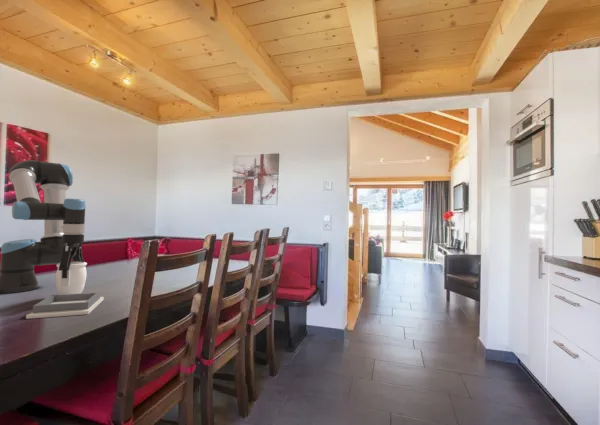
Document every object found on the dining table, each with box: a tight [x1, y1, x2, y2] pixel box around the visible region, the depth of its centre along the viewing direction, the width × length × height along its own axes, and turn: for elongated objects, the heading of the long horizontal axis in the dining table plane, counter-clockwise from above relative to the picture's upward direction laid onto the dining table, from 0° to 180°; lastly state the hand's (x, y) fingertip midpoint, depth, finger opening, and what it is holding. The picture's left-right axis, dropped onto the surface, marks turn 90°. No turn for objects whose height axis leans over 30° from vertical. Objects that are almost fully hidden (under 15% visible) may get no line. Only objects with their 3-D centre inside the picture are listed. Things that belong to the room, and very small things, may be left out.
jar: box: [55, 261, 88, 295], centre depth 126 cm, size 11×10×15 cm
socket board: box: [25, 292, 105, 320], centre depth 112 cm, size 20×18×4 cm
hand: (71, 282), depth 126 cm, fingers open, 13 cm apart
